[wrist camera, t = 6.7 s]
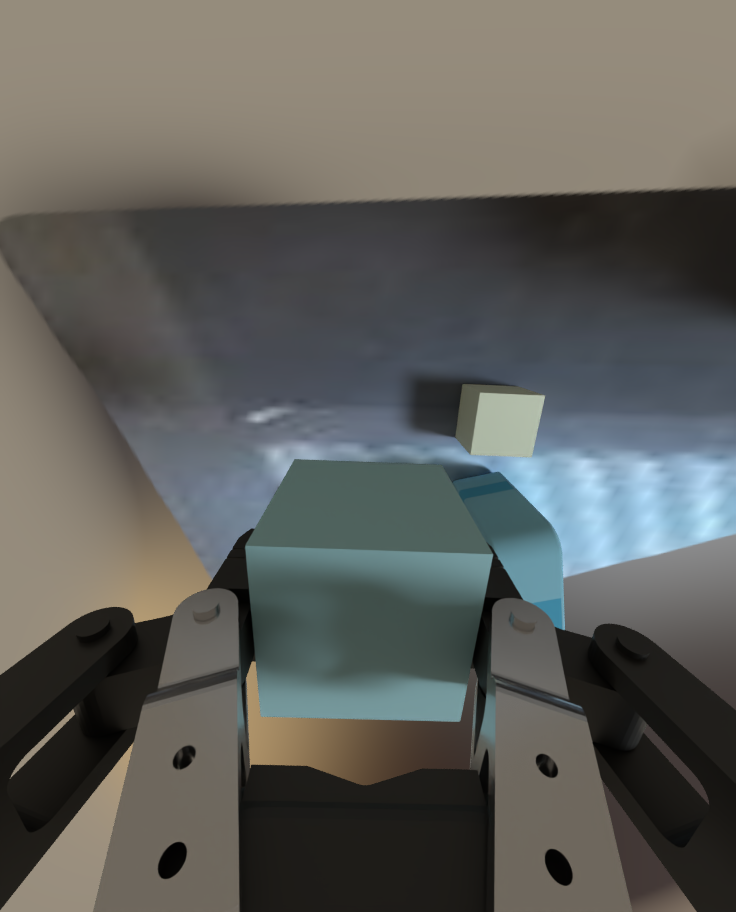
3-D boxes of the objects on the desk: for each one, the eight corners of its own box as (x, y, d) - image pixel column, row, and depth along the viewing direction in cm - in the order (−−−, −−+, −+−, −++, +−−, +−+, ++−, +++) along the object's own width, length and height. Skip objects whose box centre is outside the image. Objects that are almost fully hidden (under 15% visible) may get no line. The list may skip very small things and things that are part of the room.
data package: (449, 475, 33) (492, 547, 22) (495, 465, 33) (563, 534, 22) (464, 573, 37) (507, 677, 26) (505, 565, 37) (567, 667, 26)
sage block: (462, 383, 30) (480, 392, 26) (517, 386, 31) (545, 395, 26) (455, 437, 32) (470, 454, 27) (507, 439, 32) (531, 457, 28)
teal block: (294, 459, 12) (244, 546, 7) (441, 465, 12) (493, 554, 7) (298, 579, 13) (261, 716, 8) (426, 584, 13) (460, 721, 9)
